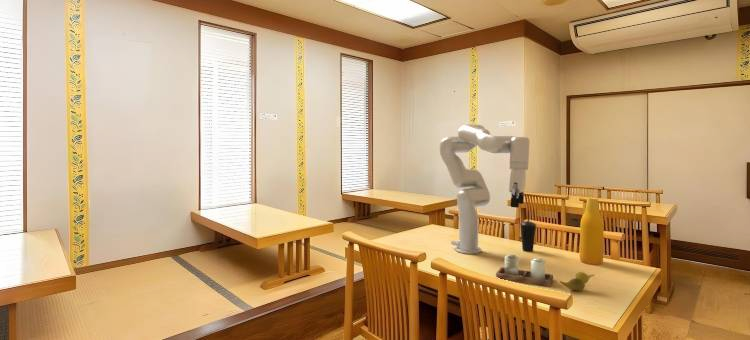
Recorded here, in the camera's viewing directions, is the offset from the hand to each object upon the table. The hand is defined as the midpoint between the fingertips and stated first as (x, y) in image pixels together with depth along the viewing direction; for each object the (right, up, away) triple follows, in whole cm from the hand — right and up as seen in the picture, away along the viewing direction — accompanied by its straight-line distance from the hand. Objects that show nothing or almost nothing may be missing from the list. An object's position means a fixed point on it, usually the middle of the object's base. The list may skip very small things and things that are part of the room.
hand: (517, 205), depth 167 cm
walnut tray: (-2, -28, -13) cm, 31 cm away
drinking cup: (+15, -26, +27) cm, 40 cm away
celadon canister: (+3, -28, -15) cm, 32 cm away
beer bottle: (+36, -27, +8) cm, 46 cm away
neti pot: (+13, -29, -25) cm, 40 cm away
